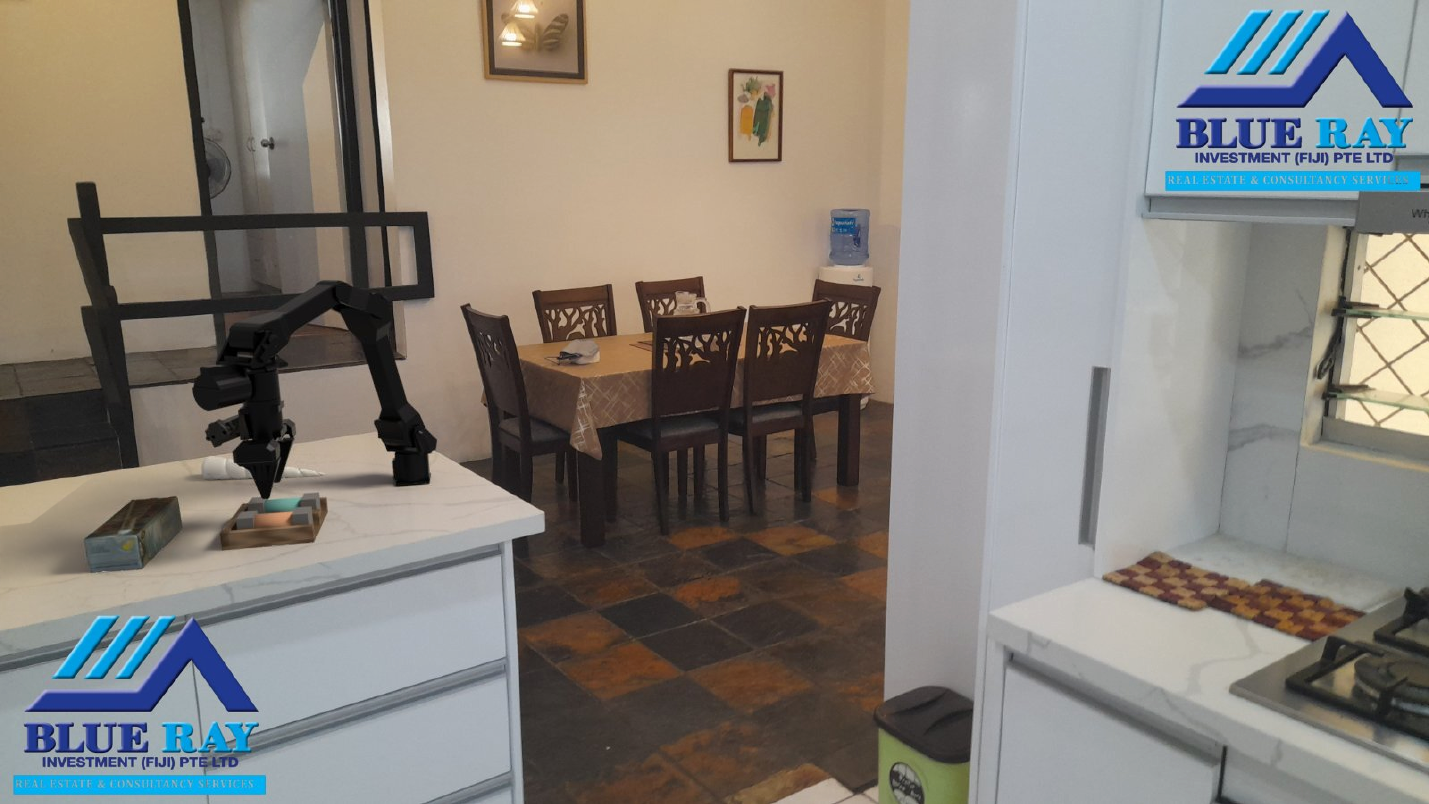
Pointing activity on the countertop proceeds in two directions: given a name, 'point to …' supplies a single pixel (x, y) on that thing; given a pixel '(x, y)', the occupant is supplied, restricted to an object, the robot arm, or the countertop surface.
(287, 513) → the orange capped cylinder
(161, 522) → the beverage carton
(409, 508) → the countertop surface
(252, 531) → the wooden tray
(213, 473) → the unicorn horn
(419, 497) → the countertop surface
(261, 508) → the teal capped cylinder
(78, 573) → the countertop surface
